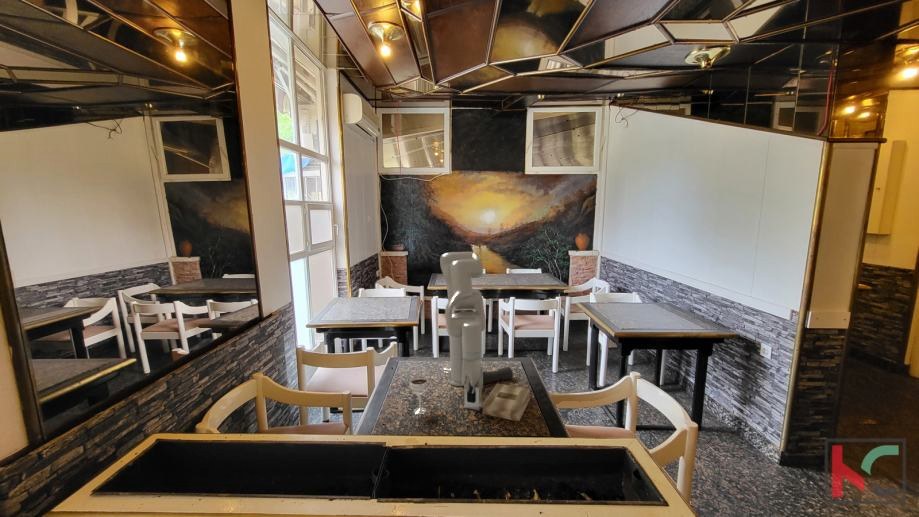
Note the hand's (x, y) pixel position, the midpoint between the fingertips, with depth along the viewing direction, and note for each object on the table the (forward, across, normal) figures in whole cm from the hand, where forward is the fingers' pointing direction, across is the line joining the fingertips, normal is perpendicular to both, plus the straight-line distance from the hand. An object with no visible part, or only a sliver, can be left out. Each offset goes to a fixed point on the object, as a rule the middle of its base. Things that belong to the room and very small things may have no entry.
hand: (473, 399), depth 131 cm
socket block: (+3, -6, +12) cm, 14 cm away
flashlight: (+4, -26, +1) cm, 26 cm away
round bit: (+3, -15, -4) cm, 16 cm away
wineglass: (+3, +10, -18) cm, 21 cm away
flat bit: (+3, 0, 0) cm, 3 cm away
